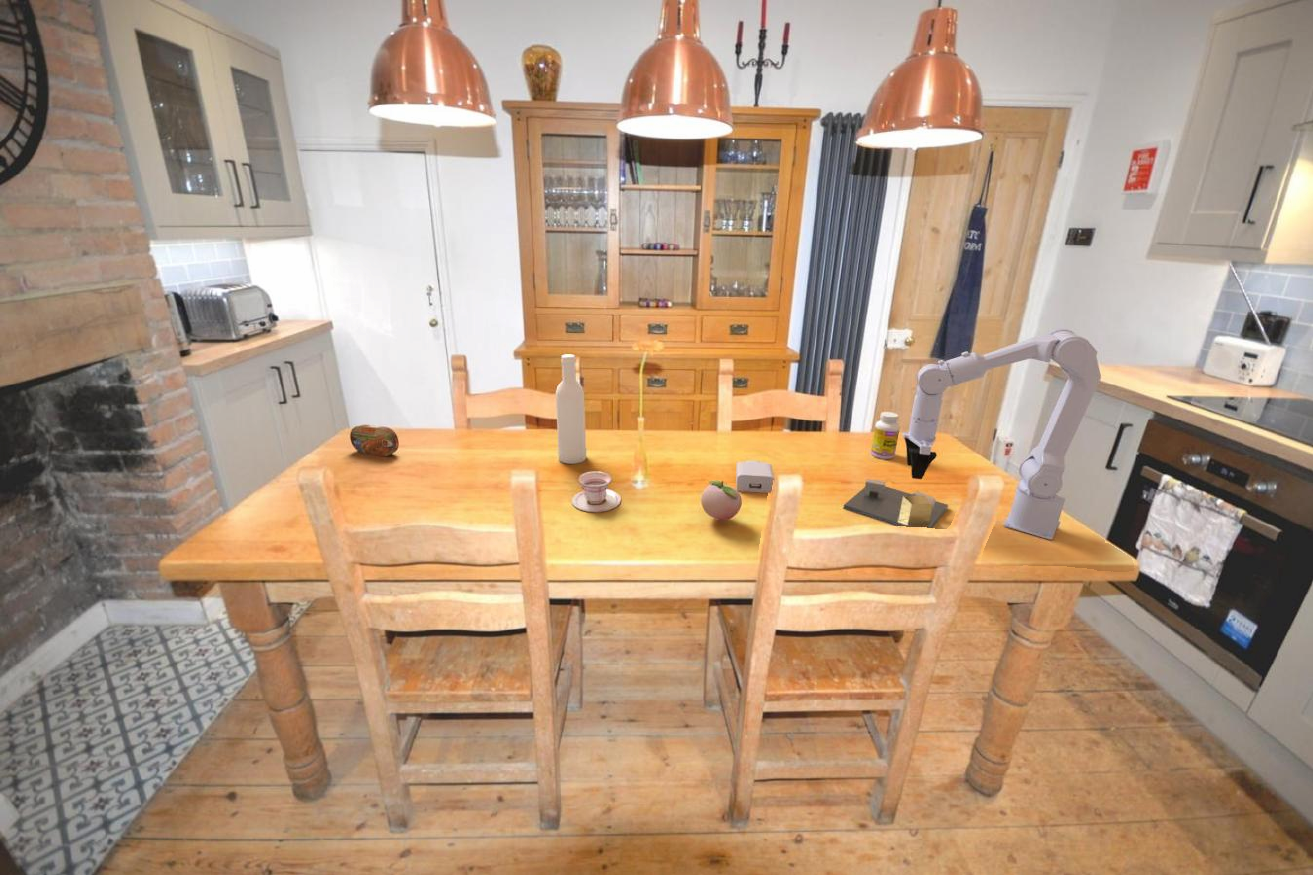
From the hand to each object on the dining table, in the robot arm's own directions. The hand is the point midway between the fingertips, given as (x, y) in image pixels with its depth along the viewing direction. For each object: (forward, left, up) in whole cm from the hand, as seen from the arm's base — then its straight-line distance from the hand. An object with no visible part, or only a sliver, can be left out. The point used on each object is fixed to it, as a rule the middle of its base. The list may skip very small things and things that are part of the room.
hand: (914, 471), depth 134 cm
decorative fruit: (+30, +36, -10) cm, 48 cm away
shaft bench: (+2, +3, -9) cm, 10 cm away
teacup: (+59, +48, -10) cm, 76 cm away
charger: (+36, +12, -10) cm, 39 cm away
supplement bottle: (+16, -29, -10) cm, 34 cm away
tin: (+127, +69, -10) cm, 145 cm away
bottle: (+82, +34, -10) cm, 90 cm away
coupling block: (-4, +7, -8) cm, 12 cm away
